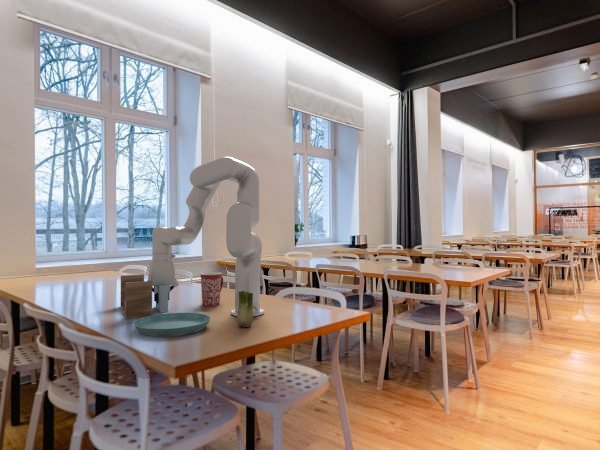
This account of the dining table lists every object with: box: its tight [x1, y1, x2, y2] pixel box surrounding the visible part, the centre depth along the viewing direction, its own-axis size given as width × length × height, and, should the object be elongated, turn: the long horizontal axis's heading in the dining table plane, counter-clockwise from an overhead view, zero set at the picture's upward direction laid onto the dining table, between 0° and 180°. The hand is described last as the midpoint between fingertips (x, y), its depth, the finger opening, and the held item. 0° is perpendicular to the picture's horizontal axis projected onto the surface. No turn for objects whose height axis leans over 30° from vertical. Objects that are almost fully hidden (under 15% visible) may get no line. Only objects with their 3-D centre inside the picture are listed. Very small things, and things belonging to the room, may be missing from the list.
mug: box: [200, 271, 224, 307], centre depth 179 cm, size 13×9×14 cm
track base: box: [119, 274, 153, 320], centre depth 162 cm, size 26×9×13 cm, turn 28°
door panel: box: [155, 285, 169, 313], centre depth 167 cm, size 12×3×10 cm, turn 28°
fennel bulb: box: [236, 291, 254, 328], centre depth 138 cm, size 6×5×12 cm
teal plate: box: [132, 312, 211, 338], centre depth 135 cm, size 24×24×3 cm
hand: (161, 302), depth 167 cm, fingers closed on door panel, 3 cm apart
